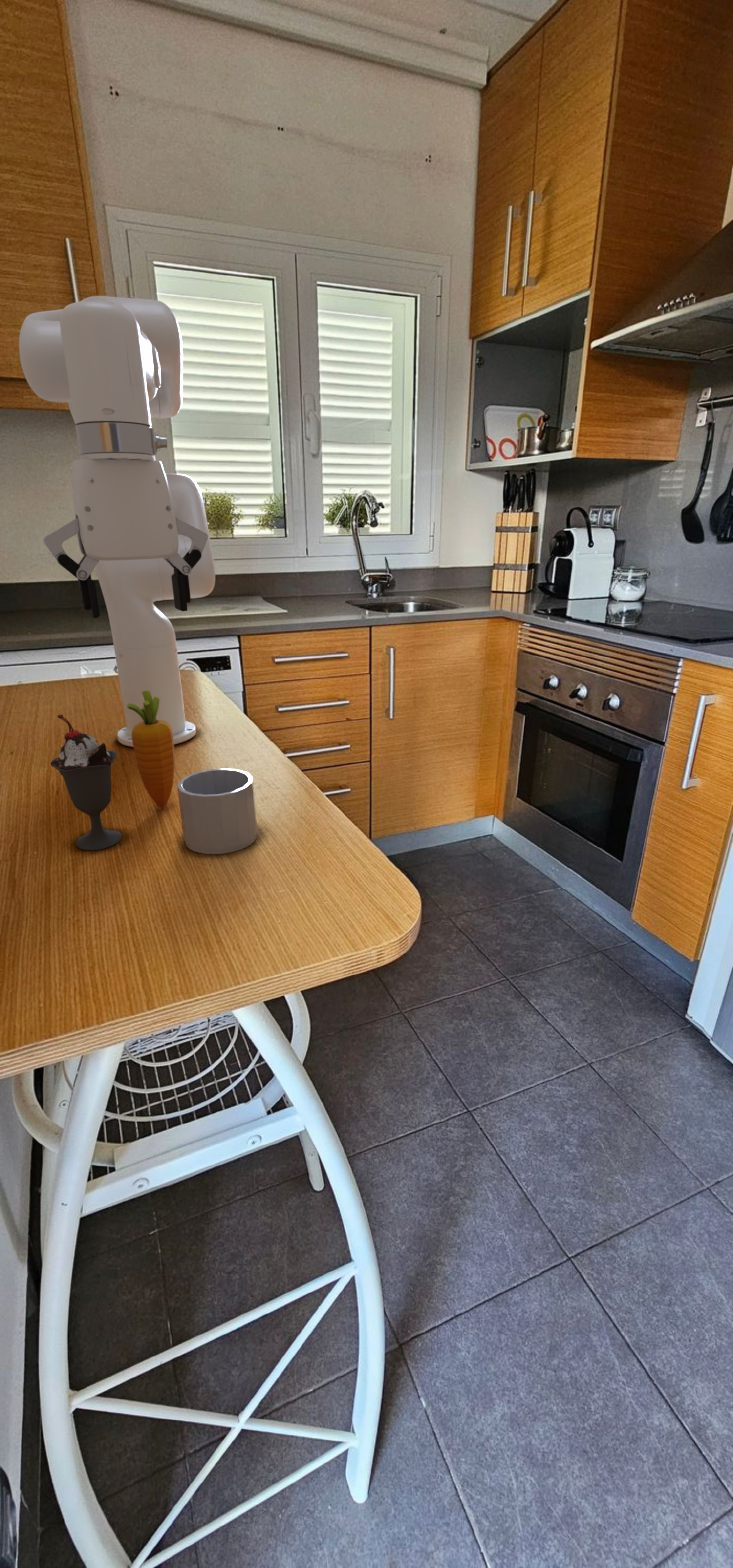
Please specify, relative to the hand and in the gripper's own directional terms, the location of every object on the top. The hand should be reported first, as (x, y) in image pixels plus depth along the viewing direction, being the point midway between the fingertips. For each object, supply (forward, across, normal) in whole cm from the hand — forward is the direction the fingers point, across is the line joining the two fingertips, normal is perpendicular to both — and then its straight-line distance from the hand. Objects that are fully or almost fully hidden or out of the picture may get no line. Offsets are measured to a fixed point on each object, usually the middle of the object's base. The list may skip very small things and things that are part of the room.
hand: (139, 613), depth 77 cm
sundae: (+25, +9, +6) cm, 27 cm away
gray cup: (+24, -4, +12) cm, 27 cm away
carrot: (+24, 0, 0) cm, 24 cm away
